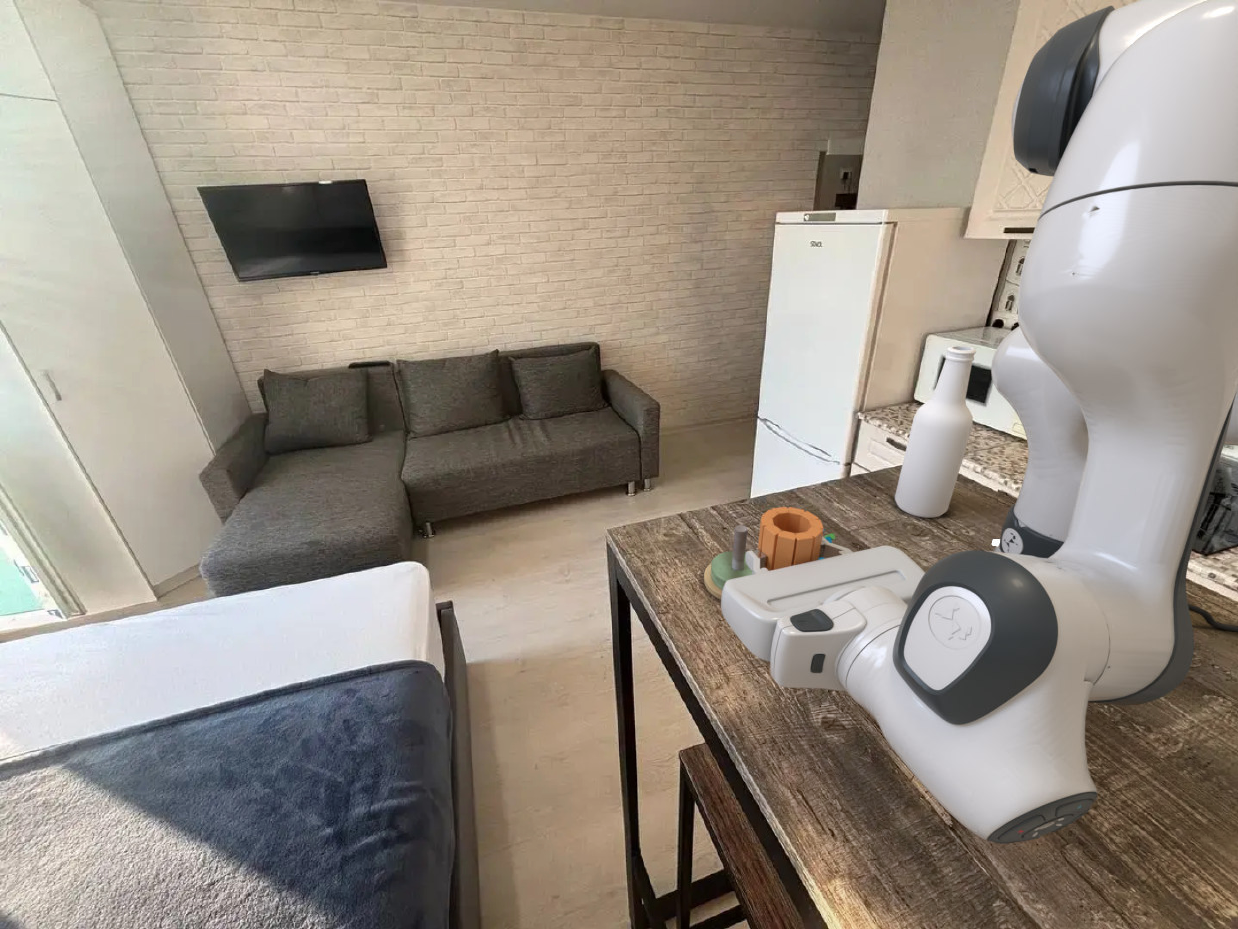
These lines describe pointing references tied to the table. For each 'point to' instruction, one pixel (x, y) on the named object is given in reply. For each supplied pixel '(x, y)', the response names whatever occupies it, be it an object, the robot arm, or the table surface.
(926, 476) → the alcohol
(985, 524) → the table surface
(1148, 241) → the robot arm
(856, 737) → the table surface
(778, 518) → the orange grooved hollow cylinder
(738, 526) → the ring stack
